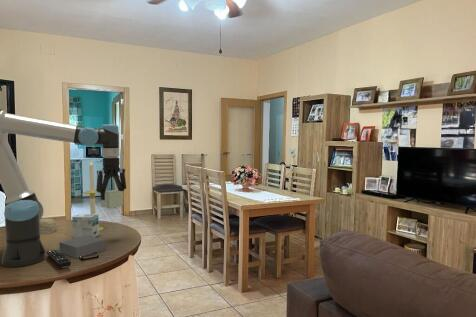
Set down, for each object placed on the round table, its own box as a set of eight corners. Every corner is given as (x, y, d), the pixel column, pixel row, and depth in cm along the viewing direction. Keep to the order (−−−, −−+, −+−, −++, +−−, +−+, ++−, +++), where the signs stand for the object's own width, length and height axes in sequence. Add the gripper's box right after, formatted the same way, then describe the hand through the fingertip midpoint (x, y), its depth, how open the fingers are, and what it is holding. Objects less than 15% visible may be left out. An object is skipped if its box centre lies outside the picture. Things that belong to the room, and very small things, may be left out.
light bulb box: (99, 234, 178) (99, 213, 177) (93, 238, 171) (92, 216, 170) (79, 234, 179) (79, 213, 178) (72, 238, 172) (71, 216, 172)
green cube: (109, 208, 162) (109, 193, 162) (101, 206, 166) (101, 191, 166) (122, 206, 167) (122, 191, 167) (114, 204, 172) (114, 190, 171)
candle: (93, 232, 181) (90, 160, 179) (79, 230, 185) (76, 160, 183) (107, 228, 190) (105, 159, 188) (94, 226, 194) (91, 158, 192)
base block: (77, 259, 143) (76, 247, 143) (59, 253, 150) (59, 242, 150) (105, 250, 154) (104, 239, 153) (87, 245, 161) (87, 235, 161)
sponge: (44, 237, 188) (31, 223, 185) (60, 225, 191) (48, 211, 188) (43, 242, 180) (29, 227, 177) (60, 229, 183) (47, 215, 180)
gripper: (95, 158, 155) (96, 209, 157) (133, 156, 171) (134, 203, 172) (86, 158, 160) (88, 207, 161) (124, 156, 176) (125, 201, 177)
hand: (112, 205), depth 167 cm, fingers closed on green cube, 7 cm apart
